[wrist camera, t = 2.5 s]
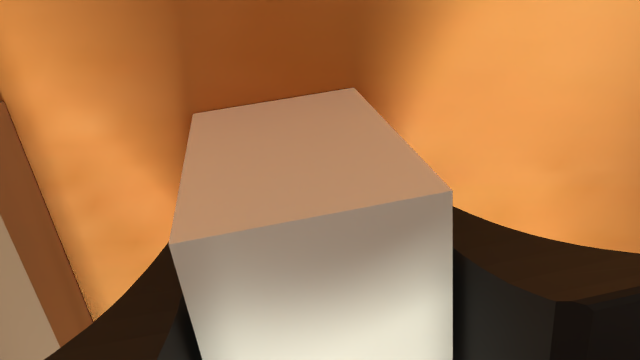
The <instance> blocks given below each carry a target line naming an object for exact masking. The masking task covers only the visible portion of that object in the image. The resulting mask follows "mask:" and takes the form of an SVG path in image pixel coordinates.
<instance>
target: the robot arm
mask: <svg viewBox="0 0 640 360" xmlns="http://www.w3.org/2000/svg"><path fill="white" fill-rule="evenodd" d="M44 360H202V357H201V353H200V350H199V346H198V343H197V340H196V336H195V333H194V329H193V326H192V323H191V319H190V316H189V312H188V309H187V306H186V302H185V299H184V295H183V292H182V288H181V285H180V282H179V278H178V275H177V271H176V268H175V265H174V261H173V258H172V254H171V251H170V248H169V242H168V244H167V245H166V246H165V248H164V249H163V250H162V251H161V253H160V254H159V255H158V256H157V258H156V259H155V260H154V261H153V263H152V264H151V265H150V266H149V267H148V269H147V270H146V271H145V272H144V273H143V274H142V275H141V276H140V277H139V278H138V280H137V281H136V282H135V283H134V284H133V285H132V286H131V287H130V288H129V289H128V291H127V292H126V293H125V294H124V295H123V296H122V297H121V298H120V299H119V300H118V301H117V302H116V303H114V304H113V305H112V306H111V307H110V308H109V309H108V310H107V311H106V312H105V313H103V314H102V315H101V316H100V317H99V318H98V319H97V320H96V321H94V322H93V323H92V324H91V325H90V326H88V327H87V328H86V329H84V330H83V331H82V332H81V333H79V334H78V335H77V336H75V337H74V338H73V339H71V340H70V341H69V342H67V343H66V344H65V345H63V346H62V347H61V348H59V349H58V350H57V351H55V352H54V353H53V354H51V355H50V356H48V357H47V358H45V359H44ZM453 360H640V254H638V253H629V252H621V251H613V250H605V249H598V248H592V247H586V246H580V245H575V244H570V243H565V242H560V241H556V240H551V239H546V238H542V237H538V236H534V235H531V234H527V233H524V232H520V231H517V230H514V229H510V228H507V227H504V226H501V225H498V224H495V223H492V222H490V221H487V220H485V219H482V218H479V217H477V216H474V215H472V214H469V213H467V212H465V211H462V210H460V209H458V208H455V207H453Z"/></svg>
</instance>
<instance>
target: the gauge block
mask: <svg viewBox="0 0 640 360" xmlns="http://www.w3.org/2000/svg"><path fill="white" fill-rule="evenodd" d="M169 248H170V251H171V254H172V258H173V261H174V265H175V268H176V271H177V275H178V278H179V282H180V285H181V288H182V292H183V295H184V299H185V302H186V306H187V309H188V312H189V316H190V319H191V323H192V326H193V329H194V333H195V336H196V340H197V343H198V346H199V350H200V353H201V357H202V360H453V205H452V190H451V189H450V187H449V186H448V185H447V184H446V183H445V182H444V181H443V180H442V179H441V178H440V177H439V176H438V175H437V174H436V173H435V172H434V171H433V170H432V169H431V168H430V167H429V166H428V164H427V163H426V162H425V161H424V160H423V159H422V158H421V157H420V156H419V155H418V154H417V153H416V152H415V151H414V150H413V149H412V148H411V147H410V146H409V145H408V144H407V142H406V141H405V140H404V139H403V138H402V137H401V136H400V135H399V134H398V133H397V132H396V131H395V130H394V129H393V128H392V127H391V126H390V125H389V124H388V123H387V122H386V121H385V119H384V118H383V117H382V116H381V115H380V114H379V113H378V112H377V111H376V110H375V109H374V108H373V107H372V106H371V105H370V104H369V103H368V102H367V101H366V100H365V99H364V97H363V96H362V95H361V94H360V93H359V92H358V91H357V90H356V89H355V88H348V89H342V90H336V91H330V92H324V93H318V94H311V95H305V96H299V97H293V98H287V99H281V100H275V101H268V102H262V103H256V104H250V105H244V106H238V107H232V108H225V109H219V110H213V111H207V112H201V113H195V114H193V116H192V122H191V127H190V132H189V138H188V143H187V149H186V154H185V159H184V165H183V170H182V175H181V181H180V186H179V191H178V197H177V202H176V208H175V213H174V218H173V224H172V229H171V234H170V240H169Z"/></svg>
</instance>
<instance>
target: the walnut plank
mask: <svg viewBox="0 0 640 360" xmlns="http://www.w3.org/2000/svg"><path fill="white" fill-rule="evenodd" d="M92 323H93V322H92V319H91V317H90V314H89V312H88V309H87V307H86V304H85V302H84V299H83V297H82V294H81V292H80V289H79V287H78V284H77V282H76V279H75V277H74V274H73V272H72V269H71V267H70V264H69V262H68V260H67V257H66V255H65V252H64V250H63V247H62V245H61V242H60V240H59V237H58V235H57V232H56V230H55V227H54V225H53V222H52V220H51V217H50V215H49V212H48V210H47V207H46V205H45V202H44V200H43V197H42V195H41V193H40V190H39V188H38V185H37V183H36V180H35V178H34V175H33V173H32V170H31V168H30V165H29V163H28V160H27V158H26V155H25V153H24V150H23V148H22V145H21V143H20V140H19V138H18V135H17V133H16V130H15V128H14V126H13V123H12V121H11V118H10V116H9V113H8V111H7V108H6V106H5V103H4V101H0V360H44V359H45V358H47V357H48V356H50V355H51V354H53V353H54V352H55V351H57V350H58V349H59V348H61V347H62V346H63V345H65V344H66V343H67V342H69V341H70V340H71V339H73V338H74V337H75V336H77V335H78V334H79V333H81V332H82V331H83V330H84V329H86V328H87V327H88V326H90V325H91V324H92Z"/></svg>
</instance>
